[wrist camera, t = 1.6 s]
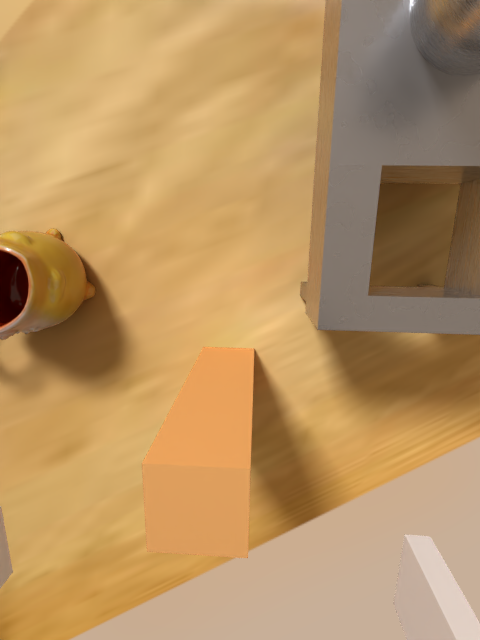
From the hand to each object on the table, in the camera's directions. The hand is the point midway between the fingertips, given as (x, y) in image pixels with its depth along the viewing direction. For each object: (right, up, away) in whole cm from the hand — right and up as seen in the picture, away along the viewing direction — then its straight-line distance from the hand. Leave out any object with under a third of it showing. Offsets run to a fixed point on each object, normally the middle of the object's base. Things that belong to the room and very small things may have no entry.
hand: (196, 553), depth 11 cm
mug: (-15, +10, +15) cm, 24 cm away
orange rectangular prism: (0, +3, +15) cm, 16 cm away
